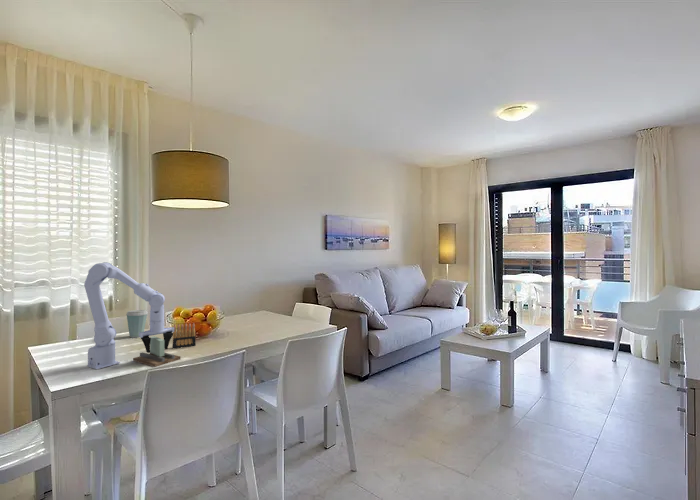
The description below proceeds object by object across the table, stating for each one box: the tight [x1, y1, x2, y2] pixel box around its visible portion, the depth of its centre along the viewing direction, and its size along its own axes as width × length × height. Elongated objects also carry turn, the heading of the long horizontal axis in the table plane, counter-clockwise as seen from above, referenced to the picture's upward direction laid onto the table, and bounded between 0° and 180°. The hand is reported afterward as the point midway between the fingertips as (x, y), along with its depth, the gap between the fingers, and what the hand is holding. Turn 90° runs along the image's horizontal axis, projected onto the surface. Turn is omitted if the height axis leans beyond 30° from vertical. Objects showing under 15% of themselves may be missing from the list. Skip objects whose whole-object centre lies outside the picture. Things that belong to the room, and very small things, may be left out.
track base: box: [132, 352, 181, 368], centre depth 164 cm, size 12×16×3 cm
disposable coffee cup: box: [125, 309, 149, 339], centre depth 204 cm, size 11×11×15 cm
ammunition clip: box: [172, 322, 197, 349], centre depth 185 cm, size 11×2×12 cm, turn 120°
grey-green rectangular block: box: [149, 335, 165, 357], centre depth 163 cm, size 2×10×7 cm, turn 51°
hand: (157, 350), depth 164 cm, fingers open, 7 cm apart
